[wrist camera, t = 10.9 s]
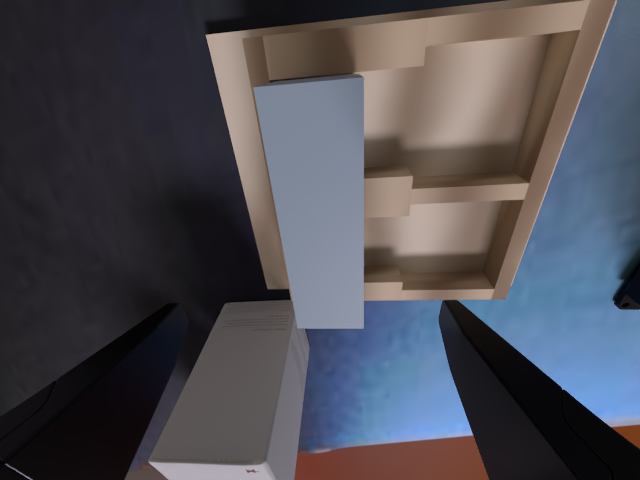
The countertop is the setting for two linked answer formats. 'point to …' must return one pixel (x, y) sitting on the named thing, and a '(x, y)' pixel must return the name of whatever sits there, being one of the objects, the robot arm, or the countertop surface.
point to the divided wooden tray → (428, 132)
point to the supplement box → (240, 399)
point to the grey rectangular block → (318, 193)
